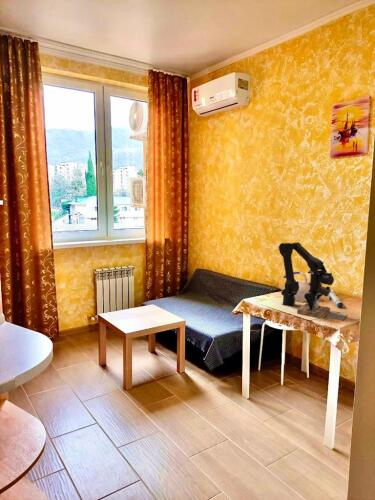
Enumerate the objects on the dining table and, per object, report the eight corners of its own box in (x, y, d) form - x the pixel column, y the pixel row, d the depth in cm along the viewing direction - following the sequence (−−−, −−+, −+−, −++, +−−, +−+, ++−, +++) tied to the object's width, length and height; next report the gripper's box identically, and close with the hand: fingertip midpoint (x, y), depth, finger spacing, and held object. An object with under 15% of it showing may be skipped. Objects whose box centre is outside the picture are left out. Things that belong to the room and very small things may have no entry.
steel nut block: (308, 312, 211) (309, 299, 210) (311, 311, 214) (311, 298, 213) (315, 314, 208) (316, 300, 207) (318, 312, 212) (319, 299, 211)
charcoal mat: (326, 317, 203) (326, 316, 203) (330, 313, 210) (330, 312, 210) (342, 320, 197) (342, 319, 197) (346, 316, 205) (346, 315, 204)
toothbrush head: (336, 302, 221) (326, 287, 245) (334, 311, 223) (325, 296, 246) (344, 302, 220) (334, 287, 244) (343, 312, 222) (333, 296, 246)
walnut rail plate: (297, 313, 209) (297, 309, 209) (306, 307, 222) (306, 303, 221) (321, 318, 201) (321, 314, 200) (329, 311, 213) (329, 307, 213)
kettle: (316, 302, 233) (317, 275, 230) (283, 300, 236) (284, 274, 234) (310, 294, 253) (312, 269, 250) (280, 293, 256) (281, 268, 253)
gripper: (324, 286, 197) (323, 314, 199) (334, 281, 211) (332, 306, 214) (304, 283, 203) (303, 310, 205) (315, 278, 218) (313, 303, 220)
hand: (313, 307), depth 211 cm, fingers open, 9 cm apart
